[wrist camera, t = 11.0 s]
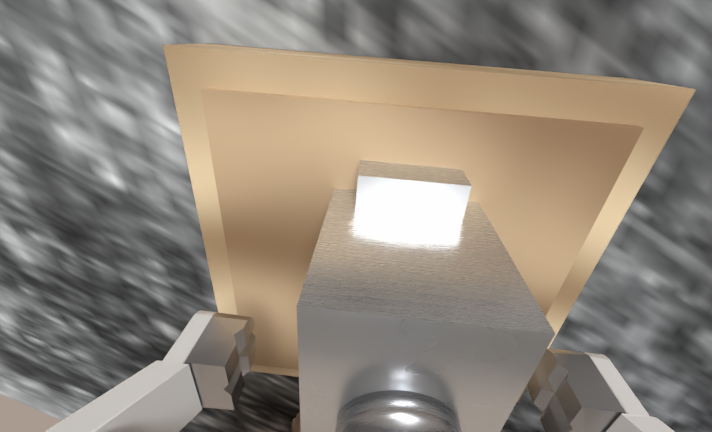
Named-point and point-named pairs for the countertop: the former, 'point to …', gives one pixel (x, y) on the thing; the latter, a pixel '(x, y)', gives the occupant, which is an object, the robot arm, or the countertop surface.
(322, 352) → the block
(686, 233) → the countertop surface
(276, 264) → the stand
